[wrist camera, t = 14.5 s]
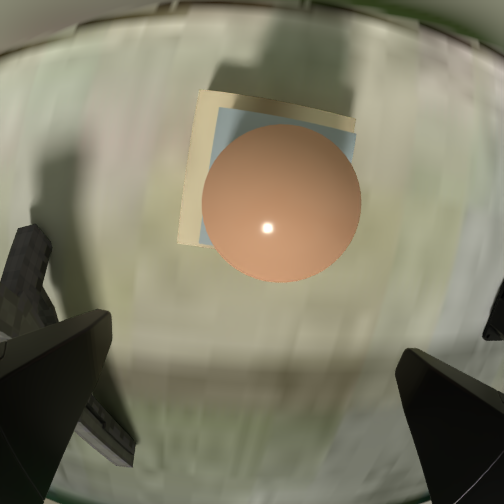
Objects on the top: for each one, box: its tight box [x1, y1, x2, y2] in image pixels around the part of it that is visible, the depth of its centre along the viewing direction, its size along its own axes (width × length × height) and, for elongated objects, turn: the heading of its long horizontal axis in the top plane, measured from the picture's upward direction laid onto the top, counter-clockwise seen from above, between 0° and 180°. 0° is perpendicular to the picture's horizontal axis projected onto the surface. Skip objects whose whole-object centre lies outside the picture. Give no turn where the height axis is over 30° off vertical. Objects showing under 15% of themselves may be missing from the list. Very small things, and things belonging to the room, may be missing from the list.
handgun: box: [0, 224, 136, 468], centre depth 22 cm, size 4×24×10 cm, turn 7°
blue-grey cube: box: [199, 107, 356, 246], centre depth 15 cm, size 6×6×6 cm
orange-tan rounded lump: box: [202, 124, 361, 282], centre depth 10 cm, size 4×4×4 cm
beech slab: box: [177, 89, 356, 249], centre depth 19 cm, size 9×9×2 cm
